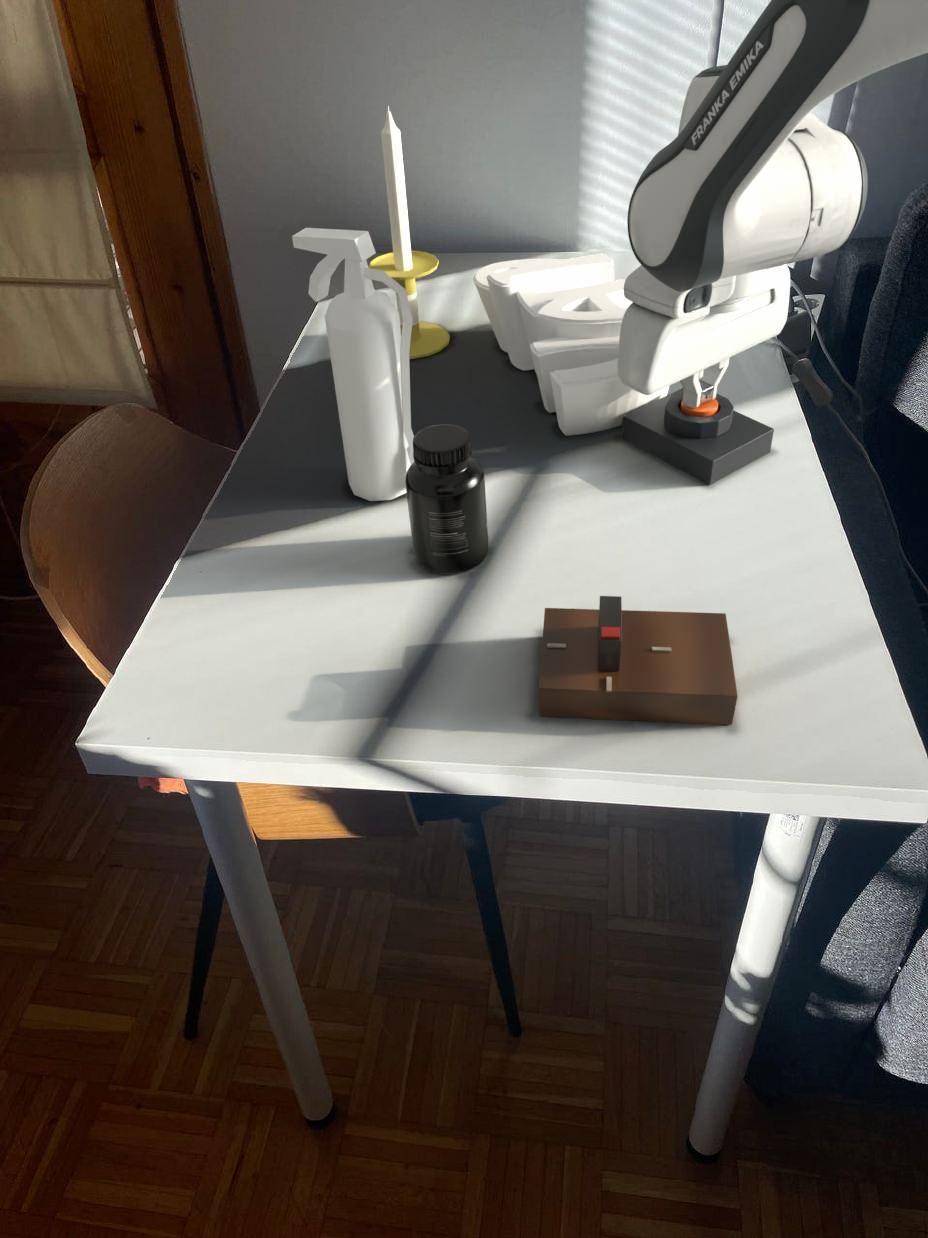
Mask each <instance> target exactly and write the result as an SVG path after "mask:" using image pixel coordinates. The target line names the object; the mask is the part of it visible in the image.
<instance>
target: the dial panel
mask: <svg viewBox="0 0 928 1238" xmlns="http://www.w3.org/2000/svg"><path fill="white" fill-rule="evenodd" d="M727 619H728V618H727V613H724V612H695V611H694V612H693V611H664V610H661V611H660V610H658V611H657V610H630V609H629V610H628V609H627V610H625V609H622V645H621V659H620V671H603V670H598V624H599V608H598V609H597V608H596V609H593V608H566V607H565V608H562V607H561V608H559V607H544V616H543V627H542V629H543V630H542V642H541V655H540V670H539V672H540V673H539V681H538V682H539V683H538V716H539V717H544V718H566V719H567V718H568V719H569V718H570V719H590V720H591V719H592V720H593V719H594V720H613V721H632V722H633V721H635V722H659V723H681V724H700V725H701V724H704V725H705V724H706V725H728V726H733V723H734V717H735V712H736V707H737V701H738V690H737V682H736V675H735V669H734V661H733V655H732V654H733V653H732V647H731V640H730V633H729V626H728V620H727Z"/></svg>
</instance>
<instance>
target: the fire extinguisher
mask: <svg viewBox="0 0 928 1238" xmlns="http://www.w3.org/2000/svg"><path fill="white" fill-rule="evenodd" d="M291 238H292V245H293V248H294V249H299V250H303V251H308V252H313V253H318V254H322V255H326V256H324V258H322V259H321V260H320V261H319V262H318V263H317V264H316V266H315V268H314V269H313V271H312V273H311V274H310V276H309V283H308V291H307V292H308V293H307V294H308V295H309V296H310V298H311V299H312V300H314V302H315V303H317V302H319V301H321V300H324V299H325V298H326V297H328V296H329V292H330V285H331V279H332V276H333V275H334V273H335V271H336V270H337V268H338V267H339V265H340V263H341V262H343V261H344V272H343V273H344V274H343V275H344V276H343V277H344V279H343V292H340V293H339V294H336V295H335V296H334V297H333V298H332V299H331V301H330V302H329V303H328V304H327V305H328V306H327V308H326V311H325V315H324V321H325V329H326V335H327V342H328V349H329V356H330V357H329V358H330V363H331V369H332V377H333V383H334V390H335V397H336V405H337V412H338V418H339V424H340V432H341V438H342V445H343V446H342V447H343V452H344V459H345V460H344V461H345V467H346V473H347V481H348V485H349V487H350V490H351V492H352V493H353V495H354V496H356V497H359V498H361V499H364V500H366V501H368V502H379V501H381V502H382V501H391V500H394V499H396V498H398V497H400V496H402V495H405V494H407V493H406V485H405V476H406V473H407V470H408V468H409V467H410V465H411V464H412V463H413V462H414V459H413V452H414V450H413V438H414V436H415V434H414V432H413V429H412V412H411V411H412V410H411V409H412V408H411V379H410V378H411V376H410V375H411V373H410V359H409V350H410V340H411V331H412V321H413V320H412V316H411V311H410V307H409V302H408V298H407V293H406V289H404V288H403V287H402V286H401V285H400V284H398V283H397V282H396V281H395V280H393V279H392V278H391V277H390V276H389V275H387V274H386V273H385V272H384V271H380V270H375V269H371V268H368V266H369V263H368V261H367V260H368V259H369V258H371V257H372V256H374V255H375V254H377V253H376V249H375V247H374V243H373V241H372V237H371V235H370V232H369V230H356V229H355V230H354V229H339V228H338V229H336V228H318V227H305V228H303V229H301V230H300V231H298V232H296V233H295V234H293V235H291ZM373 281H376V282H379V283H383V284H384V285H385V286H387V287H388V288H389V289H391V290H392V291H393V292H395V294H396V293H397V294H398V297H399V302H400V307H401V312H402V317H403V326H402V334H401V329H400V318H399V312H398V309H397V306H396V305H395V304H394V301H393V300H392V299H391V297H390V296H389V294H388V293H387V292H386V291H382V290H378V289H375V286H374V284H373Z"/></svg>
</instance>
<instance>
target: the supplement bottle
mask: <svg viewBox="0 0 928 1238" xmlns="http://www.w3.org/2000/svg"><path fill="white" fill-rule="evenodd" d="M413 450H414V452H413V459H414V462H413V463H412V464H411V465H410V467H409V468H408V470H407V473H406V476H405V485H406V493H405V494H406V501H407V502H406V503H407V509H408V518H409V527H410V534H411V542H412V543H411V544H412V550H413V555H414V558H415V560H416V562H417V563H418V564H419V565H420V566H421V567H422V568H424V569H425V570H427V571H428V572H431V573H435V574H439V575H457V574H462V573H466V572H469V571H470V570H473V569H475V568H477V567H478V566H479V565H481V564H482V562H484V560H485V559H486V557H487V555H488V552H489V530H488V514H487V513H488V512H487V511H488V510H487V497H486V496H487V495H486V479H485V471H484V468H483V466H482V464H481V463H480V462H479V460H477V459H476V458H475V457H474V456H473V451H472V447H471V435H470V433H469V431H467V429H465V428H464V427H461V426H460V425H456V424H452V423H450V424H447V423H443V424H440V423H439V424H433V425H430V426H427V427H424V428H422V429H420V430H419V431H417V432H416V434H414V438H413Z"/></svg>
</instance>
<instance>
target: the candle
mask: <svg viewBox="0 0 928 1238" xmlns="http://www.w3.org/2000/svg"><path fill="white" fill-rule="evenodd" d="M401 135H402V134H401V130H400V129H399V128H398V127H397V125H396V123H395V120H394V118H393V115H392V111H390V106H389V105H387V111H386V115H385V122H384V126H383V128H382V130H381V131H380V136H381V146H382V157H383V166H384V177H385V185H386V196H387V205H388V217H389V225H390V233H391V234H390V235H391V245H392V252H388V253H385V254H382V255H379V256H377V257H375V258H374V259H372V260H371V261H369V263H368V268H371V269H375V270H380V271H384V272H385V273H386V274H387V275H389V276H390V277H391V278H392V279H393V280H395V281H396V282H397V283H398V284H400V285H401V286H402V287H403V288H404V289H406V293H407V298H408V302H409V307H410V311H411V316H412V320H413V321H412V331H411V340H410V350H409V360H414V359H415V360H416V359H420V358H425V357H429V356H432V355H434V354H436V353H439V352H441V351H442V350H444V349H445V348H446V347H447V346H449V343H450V339H451V335H450V334H449V333H448V330H446V329H445V328H444V327H441V326H439V325H438V324H433V323H428V322H420V318H419V317H420V316H419V308H418V296H417V295H418V294H417V287H416V286H417V285H416V279H420V278H423V277H425V276H428V275H430V274H432V273H433V272H435V271H437V269H438V266H439V263H440V262H439V259H438V258H437V256H436V255H434V254H432V253H429V252H426V251H419V250H412V247H411V236H410V225H409V214H408V203H407V191H406V181H405V180H406V178H405V169H404V160H403V147H402V137H401ZM395 299H396V308H397V310H398V312H399V318H400V329H401V334H402V326H403V317H402V312H401V307H400V302H399V297H398V294H397V293H396V292H395Z"/></svg>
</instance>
